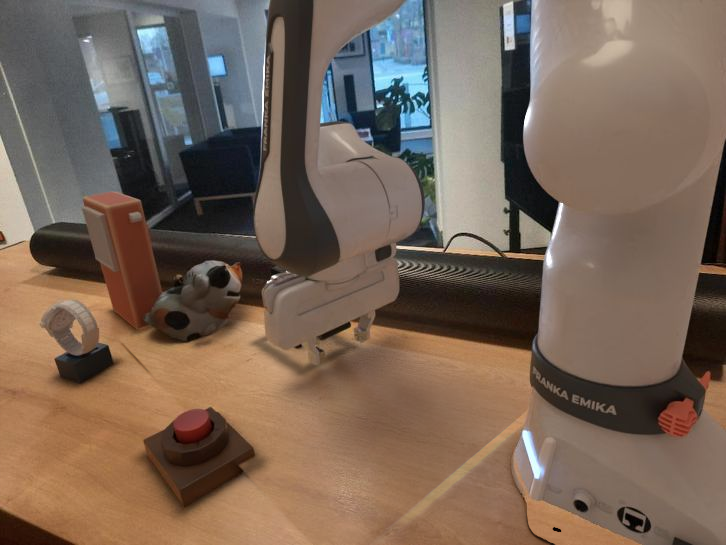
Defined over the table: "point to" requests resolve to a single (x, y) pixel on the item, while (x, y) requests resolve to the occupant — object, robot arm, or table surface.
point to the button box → (198, 458)
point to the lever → (334, 331)
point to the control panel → (123, 253)
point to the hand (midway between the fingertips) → (340, 350)
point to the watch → (76, 341)
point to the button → (192, 426)
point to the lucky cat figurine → (197, 301)
